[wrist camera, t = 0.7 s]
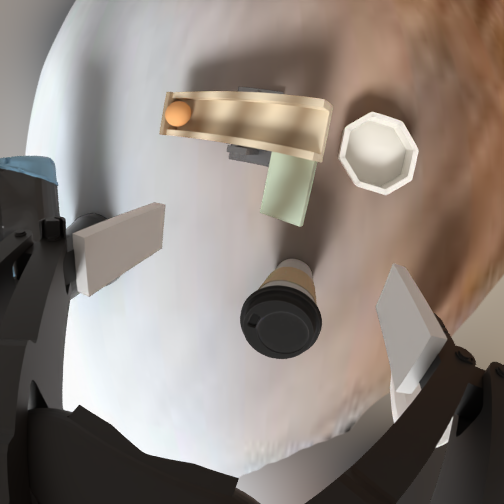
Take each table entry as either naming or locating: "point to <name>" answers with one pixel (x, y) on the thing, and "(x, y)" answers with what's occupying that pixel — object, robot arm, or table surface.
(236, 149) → the fulcrum
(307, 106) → the lever
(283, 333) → the coffee cup
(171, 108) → the ball
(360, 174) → the bowl
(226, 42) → the table surface
